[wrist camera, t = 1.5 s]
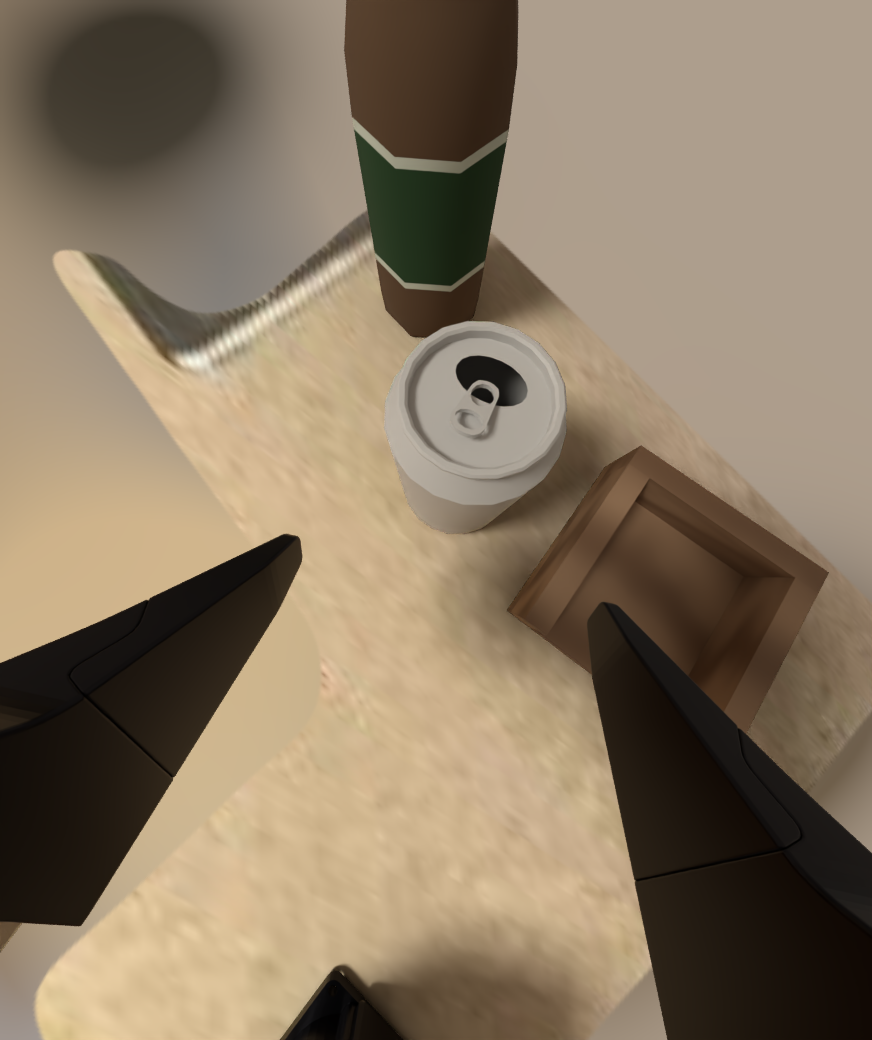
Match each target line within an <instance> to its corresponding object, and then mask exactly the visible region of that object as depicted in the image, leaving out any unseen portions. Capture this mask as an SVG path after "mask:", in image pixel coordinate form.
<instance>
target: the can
mask: <svg viewBox="0 0 872 1040" xmlns="http://www.w3.org/2000/svg"><path fill="white" fill-rule="evenodd" d="M566 412H567V403H566V389H565V384H564V381H563V379H562V376H561V374H560V372H559V369H558V367H557V365H556V362H555V361H554V360H553V359H552V358H551V356H550V355H549V354H548V353H547V352H546V351H545V349H544V348H543V347H542V346H541V345H540V344H539V343H538V342H537V341H535V340H534V339H532V338H530V337H529V336H527V335H526V334H524V333H523V332H521V331H520V330H518V329H515V328H512V327H509V326H506V325H502V324H499V323H496V322H487V321H466V322H462V323H458V324H454V325H451V326H447V327H443V328H441V329H440V330H438V331H436V332H435V333H433V334H432V335H430V336H428V337H427V338H425V339H424V340H422V341H421V342H420V343H419V344H418V346H417V347H416V348H415V349H414V350H413V352H412V353H411V354H410V355H409V356H408V357H407V359H406V360H405V363H404V365H403V367H402V369H401V370H400V371H399V372H398V373H397V375H396V376H395V378H394V380H393V383H392V385H391V388H390V390H389V393H388V396H387V398H386V401H385V425H384V428H385V432H386V435H387V438H388V441H389V445H390V448H391V451H392V454H393V457H394V461H395V464H396V467H397V470H398V474H399V477H400V480H401V483H402V486H403V490H404V493H405V496H406V499H407V502H408V505H409V507H410V508H411V509H412V511H413V512H414V514H415V515H416V516H417V518H418V519H420V520H421V521H422V522H424V523H425V524H426V525H428V526H429V527H430V528H432V529H435V530H438V531H441V532H444V533H447V534H466V533H469V532H472V531H475V530H478V529H481V528H483V527H484V526H485V525H487V524H488V523H490V522H491V521H492V520H494V519H495V518H496V517H497V516H499V515H500V514H501V513H502V512H504V511H505V510H506V509H507V508H509V507H510V506H511V505H512V504H514V503H515V502H516V501H517V500H519V499H520V498H521V497H522V496H524V495H525V494H526V493H527V492H529V491H530V490H531V489H532V488H534V487H535V486H536V485H537V484H539V483H540V482H541V481H542V480H544V478H545V477H546V475H547V474H548V473H549V471H550V470H551V468H552V467H553V465H554V464H555V463H556V461H557V460H558V458H559V457H560V453H561V450H562V446H563V442H564V439H565V435H566V431H567V428H566Z"/></svg>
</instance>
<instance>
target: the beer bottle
mask: <svg viewBox="0 0 872 1040" xmlns="http://www.w3.org/2000/svg"><path fill="white" fill-rule="evenodd" d="M517 47H518V0H346V23H345V46H344V51H345V60H346V69H347V77H348V86H349V95H350V104H351V112H352V120H353V126H354V132H355V137H356V143H357V149H358V155H359V161H360V167H361V173H362V179H363V185H364V191H365V196H366V203H367V209H368V215H369V221H370V227H371V232H372V238H373V244H374V250H375V256H376V262H377V268H378V274H379V280H380V286H381V291H382V296H383V300H384V304H385V308H386V310H387V312H388V313H389V314H390V315H391V316H392V317H393V318H394V319H395V320H396V321H397V322H398V323H399V324H400V325H401V326H402V327H403V328H404V329H405V330H406V331H407V332H408V334H409V335H410V336H415V337H428V336H430V335H432V334H433V333H435V332H436V331H438V330H440V329H441V328H443V327H447V326H451V325H454V324H458V323H462V322H466V321H469V320H470V319H471V318H472V317H473V316H474V313H475V309H476V305H477V301H478V297H479V291H480V286H481V280H482V274H483V269H484V263H485V258H486V252H487V247H488V241H489V236H490V230H491V225H492V219H493V214H494V208H495V203H496V197H497V192H498V186H499V180H500V175H501V170H502V164H503V158H504V153H505V147H506V142H507V136H508V131H509V124H510V116H511V108H512V101H513V93H514V85H515V77H516V70H517Z"/></svg>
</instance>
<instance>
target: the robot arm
mask: <svg viewBox="0 0 872 1040" xmlns="http://www.w3.org/2000/svg"><path fill="white" fill-rule="evenodd" d="M301 562H302V550H301V541H300V538H299V537H298V536H295V535H290V534H283V535H281V536H279V537H276V538H274V539H272V540H270V541H268V542H266V543H264V544H262V545H260V546H258V547H256V548H253V549H251V550H249V551H247V552H245V553H243V554H241V555H239V556H237V557H235V558H233V559H231V560H228V561H226V562H225V563H222V564H220V565H218V566H216V567H214V568H212V569H210V570H208V571H205V572H203V573H201V574H199V575H197V576H195V577H193V578H191V579H189V580H187V581H185V582H182V583H180V584H179V585H176V586H174V587H172V588H170V589H168V590H166V591H164V592H162V593H160V594H157V595H156V596H153V597H152V598H150V599H149V600H145V601H143V602H141V603H138V604H136V605H134V606H132V607H130V608H128V609H126V610H124V611H121V612H119V613H117V614H115V615H113V616H111V617H108V618H106V619H104V620H102V621H100V622H97V623H95V624H93V625H90V626H88V627H86V628H84V629H81V630H79V631H76V632H74V633H72V634H69V635H67V636H65V637H62V638H60V639H58V640H55V641H53V642H50V643H48V644H45V645H43V646H41V647H38V648H36V649H33V650H31V651H29V652H26V653H24V654H21V655H19V656H17V657H14V658H12V659H9V660H7V661H4V662H2V663H0V952H1V951H2V950H3V948H4V947H5V946H6V944H7V943H8V942H9V940H10V939H11V938H12V936H13V935H14V934H15V932H16V931H17V930H18V928H19V927H20V926H21V924H22V923H32V924H48V925H65V926H81V925H82V924H83V922H84V921H85V920H86V918H87V917H88V915H89V914H90V912H91V911H92V909H93V907H94V906H95V904H96V903H97V901H98V899H99V898H100V896H101V895H102V893H103V892H104V890H105V888H106V887H107V885H108V884H109V882H110V880H111V879H112V877H113V875H114V874H115V872H116V870H117V869H118V867H119V866H120V864H121V863H122V861H123V859H124V858H125V856H126V854H127V853H128V851H129V850H130V848H131V846H132V845H133V843H134V842H135V840H136V839H137V837H138V835H139V833H140V832H141V831H142V829H143V827H144V826H145V824H146V822H147V821H148V819H149V818H150V816H151V815H152V813H153V811H154V810H155V808H156V806H157V805H158V803H159V802H160V800H161V799H162V797H163V795H164V794H165V792H166V790H167V789H168V787H169V785H170V784H171V782H172V781H173V777H175V776H176V774H177V772H178V771H179V769H180V768H181V766H182V764H183V763H184V761H185V760H186V758H187V756H188V755H189V753H190V752H191V750H192V748H193V747H194V745H195V743H196V742H197V740H198V739H199V737H200V735H201V734H202V732H203V731H204V729H205V728H206V726H207V724H208V723H209V721H210V720H211V718H212V716H213V715H214V713H215V711H216V710H217V708H218V707H219V705H220V703H221V702H222V700H223V699H224V697H225V695H226V694H227V692H228V691H229V689H230V687H231V686H232V684H233V683H234V681H235V679H236V678H237V676H238V675H239V673H240V671H241V670H242V668H243V667H244V665H245V663H246V662H247V660H248V659H249V657H250V655H251V654H252V652H253V651H254V649H255V647H256V646H257V644H258V643H259V641H260V639H261V638H262V636H263V635H264V633H265V631H266V630H267V628H268V626H269V625H270V623H271V622H272V620H273V618H274V617H275V615H276V614H277V612H278V610H279V608H280V606H281V604H282V602H283V600H284V598H285V596H286V594H287V592H288V590H289V588H290V586H291V584H292V582H293V580H294V577H295V575H296V573H297V571H298V569H299V567H300V565H301ZM587 632H588V642H589V652H590V663H591V671H592V678H593V684H594V689H595V693H596V698H597V703H598V708H599V713H600V717H601V722H602V727H603V732H604V737H605V741H606V746H607V751H608V756H609V761H610V765H611V770H612V775H613V780H614V785H615V789H616V794H617V799H618V804H619V809H620V813H621V818H622V823H623V828H624V833H625V837H626V842H627V847H628V852H629V857H630V861H631V866H632V871H633V876H634V879H635V887H636V892H637V896H638V901H639V906H640V911H641V915H642V920H643V925H644V930H645V935H646V939H647V944H648V949H649V954H650V959H651V963H652V968H653V973H654V978H655V982H656V987H657V992H658V997H659V1001H660V1006H661V1011H662V1016H663V1021H664V1026H665V1030H666V1035H667V1040H872V853H871V852H870V851H869V850H868V849H867V848H866V847H865V846H864V845H862V844H861V843H860V842H859V841H858V840H857V839H856V838H855V837H854V836H853V835H851V834H850V833H849V832H848V831H847V830H846V829H845V828H844V827H843V826H842V825H841V824H839V822H837V821H836V820H835V819H834V818H833V817H832V816H831V815H830V814H828V812H827V811H825V810H824V809H823V808H822V807H821V806H820V805H819V804H818V803H817V802H816V801H815V800H814V799H813V798H811V797H810V796H809V795H808V794H807V793H806V792H805V791H804V790H803V789H802V788H801V787H800V786H799V785H798V784H797V783H795V782H794V781H793V780H792V779H791V778H790V777H789V776H788V775H787V774H786V773H785V772H784V771H783V770H782V769H781V768H780V767H779V766H778V765H777V764H776V763H775V762H774V761H773V760H772V759H771V758H770V757H768V756H767V755H766V754H765V753H764V752H763V751H762V750H761V749H760V748H759V747H758V746H757V745H756V744H755V743H754V742H753V741H752V740H751V739H750V738H749V737H748V736H747V735H746V734H745V733H744V732H743V731H742V730H741V729H740V728H738V726H737V725H736V724H735V723H734V722H733V721H732V720H731V719H730V718H729V717H728V716H727V715H726V714H725V713H724V712H723V711H722V710H721V709H720V708H719V707H718V706H717V705H716V703H715V702H714V701H713V700H712V699H711V698H710V697H709V696H708V695H707V694H706V693H705V692H704V691H703V690H702V689H701V688H700V687H699V686H698V685H697V684H696V683H695V682H694V681H693V680H692V679H691V678H690V677H689V676H688V675H687V674H686V673H685V672H684V671H683V670H682V669H681V668H680V667H679V666H678V665H677V664H676V663H675V662H674V661H673V660H672V659H671V658H670V657H669V656H668V655H667V654H666V653H665V652H664V651H663V650H662V649H661V648H660V647H659V646H658V645H657V644H656V643H655V642H654V641H653V640H652V639H651V638H650V637H649V636H648V635H647V634H646V633H645V632H644V631H643V630H642V629H641V628H640V627H639V626H638V625H637V624H636V623H635V622H634V621H633V620H632V619H631V618H630V617H629V616H628V615H627V614H626V613H625V612H624V611H623V610H622V609H621V608H620V607H619V606H618V605H616V604H613V603H609V602H601V603H599V604H598V606H597V607H596V608H595V610H594V611H593V613H592V614H591V615H590V617H589V618H588V621H587ZM332 985H335V986H336V987H333V986H332ZM280 1040H403V1039H402V1038H401V1037H400V1036H399V1035H398V1034H397V1032H396V1031H395V1030H394V1029H393V1028H392V1027H391V1026H390V1025H389V1024H388V1023H387V1022H386V1021H385V1020H384V1019H383V1017H382V1016H381V1015H380V1014H379V1013H378V1012H377V1011H376V1010H375V1009H374V1008H373V1007H372V1006H371V1005H370V1004H369V1002H368V1001H367V1000H366V999H365V998H364V997H363V996H362V995H361V994H360V993H359V992H358V991H357V990H356V989H355V987H354V986H353V985H352V984H351V983H350V982H349V981H348V980H347V979H346V978H345V977H344V976H343V975H342V974H341V973H340V972H339V971H333V972H331V973H330V974H329V975H328V976H327V977H326V979H325V980H324V981H323V983H322V984H321V985H320V987H319V988H318V989H317V991H316V992H315V994H314V995H313V996H312V998H311V999H310V1000H309V1002H308V1003H307V1004H306V1006H305V1007H304V1008H303V1010H302V1011H301V1012H300V1014H299V1015H298V1016H297V1018H296V1019H295V1020H294V1022H293V1023H292V1025H291V1026H290V1027H289V1029H288V1030H287V1031H286V1033H285V1034H284V1035H283V1037H282V1038H281V1039H280Z"/></svg>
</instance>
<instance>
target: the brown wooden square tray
mask: <svg viewBox="0 0 872 1040" xmlns="http://www.w3.org/2000/svg"><path fill="white" fill-rule="evenodd" d="M828 573H829V572H827V571H826V570H824V569H823V568H821V567H820V566H818V565H817V564H815V563H814V562H813V561H811V560H810V559H808V558H807V557H805V556H804V555H802V554H801V553H799V552H798V551H796V550H795V549H793V548H792V547H790V546H789V545H787V544H786V543H784V542H783V541H782V540H780V539H779V538H777V537H776V536H774V535H773V534H771V533H770V532H768V531H767V530H765V529H764V528H762V527H761V526H759V525H758V524H756V523H755V522H753V521H752V520H750V519H749V518H748V517H746V516H745V515H743V514H742V513H740V512H739V511H737V510H736V509H734V508H733V507H731V506H730V505H728V504H727V503H725V502H724V501H722V500H721V499H719V498H718V497H717V496H715V495H714V494H712V493H711V492H709V491H708V490H706V489H705V488H703V487H702V486H700V485H699V484H697V483H696V482H694V481H693V480H691V479H690V478H688V477H687V476H686V475H684V474H683V473H681V472H680V471H678V470H677V469H675V468H674V467H672V466H671V465H669V464H668V463H666V462H665V461H663V460H662V459H660V458H659V457H657V456H656V455H655V454H653V453H652V452H650V451H649V450H647V449H646V448H644V447H643V446H639V447H638V448H636V449H634V450H633V451H631V452H629V453H628V454H626V455H624V456H623V457H621V458H619V459H618V460H616V461H614V462H612V463H611V464H609V465H607V466H606V467H605V468H604V469H603V471H602V472H601V474H600V475H599V477H598V478H597V479H596V481H595V482H594V484H593V485H592V487H591V488H590V490H589V491H588V493H587V494H586V496H585V497H584V498H583V500H582V501H581V503H580V504H579V506H578V507H577V509H576V510H575V512H574V513H573V514H572V516H571V517H570V519H569V520H568V522H567V523H566V525H565V526H564V528H563V529H562V531H561V532H560V533H559V535H558V536H557V538H556V539H555V541H554V542H553V544H552V545H551V547H550V548H549V550H548V551H547V552H546V554H545V555H544V557H543V558H542V560H541V561H540V563H539V564H538V566H537V567H536V569H535V570H534V571H533V573H532V574H531V576H530V577H529V579H528V580H527V582H526V583H525V585H524V586H523V587H522V589H521V590H520V592H519V593H518V595H517V596H516V598H515V599H514V601H513V602H512V604H511V605H510V606H509V608H508V609H507V611H508V612H510V613H511V614H512V615H514V616H515V617H516V618H518V619H519V620H520V621H522V622H523V623H524V624H526V625H527V626H528V627H530V628H531V629H532V630H533V631H535V632H536V633H537V634H539V635H540V636H541V637H543V638H544V639H545V640H547V641H548V642H549V643H551V644H552V645H553V646H555V647H556V648H557V649H559V650H560V651H561V652H563V653H564V654H565V655H566V656H568V657H569V658H570V659H572V660H573V661H574V662H576V663H577V664H578V665H580V666H581V667H582V668H584V669H585V670H586V671H588V672H589V673H590V674H592V671H591V663H590V652H589V642H588V632H587V621H588V618H589V617H590V615H591V614H592V613H593V611H594V610H595V608H596V607H597V606H598V604H599V603H601V602H609V603H613V604H616V605H618V606H619V607H620V608H621V609H622V610H623V611H624V612H625V613H626V614H627V615H628V616H629V617H630V618H631V619H632V620H633V621H634V622H635V623H636V624H637V625H638V626H639V627H640V628H641V629H642V630H643V631H644V632H645V633H646V634H647V635H648V636H649V637H650V638H651V639H652V640H653V641H654V642H655V643H656V644H657V645H658V646H659V647H660V648H661V649H662V650H663V651H664V652H665V653H666V654H667V655H668V656H669V657H670V658H671V659H672V660H673V661H674V662H675V663H676V664H677V665H678V666H679V667H680V668H681V669H682V670H683V671H684V672H685V673H686V674H687V675H688V676H689V677H690V678H691V679H692V680H693V681H694V682H695V683H696V684H697V685H698V686H699V687H700V688H701V689H702V690H703V691H704V692H705V693H706V694H707V695H708V696H709V697H710V698H711V699H712V700H713V701H714V702H715V703H716V705H717V706H718V707H719V708H720V709H721V710H722V711H723V712H724V713H725V714H726V715H727V716H728V717H729V718H730V719H731V720H732V721H733V722H734V723H735V724H736V725H737V726H738V728H740V729H741V730H742V731H743V732H744V733H745V734H746V733H747V731H748V729H749V727H750V725H751V723H752V721H753V719H754V717H755V715H756V713H757V711H758V709H759V708H760V706H761V704H762V702H763V700H764V698H765V696H766V694H767V692H768V690H769V688H770V686H771V684H772V682H773V680H774V678H775V676H776V674H777V672H778V671H779V669H780V667H781V665H782V663H783V661H784V659H785V657H786V655H787V653H788V651H789V649H790V647H791V645H792V643H793V641H794V639H795V637H796V636H797V634H798V632H799V630H800V628H801V626H802V624H803V622H804V620H805V618H806V616H807V614H808V612H809V610H810V608H811V606H812V604H813V602H814V600H815V599H816V597H817V595H818V593H819V591H820V589H821V587H822V585H823V583H824V581H825V579H826V577H827V575H828Z"/></svg>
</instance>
